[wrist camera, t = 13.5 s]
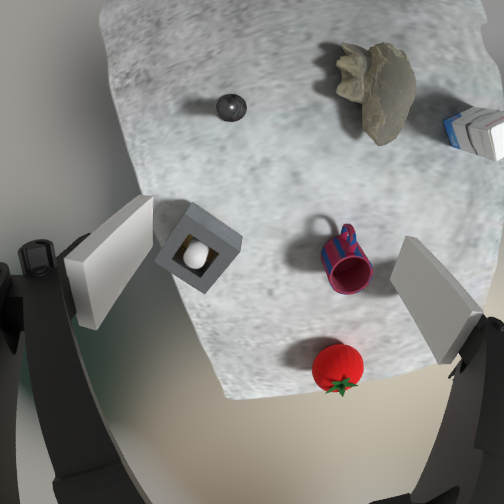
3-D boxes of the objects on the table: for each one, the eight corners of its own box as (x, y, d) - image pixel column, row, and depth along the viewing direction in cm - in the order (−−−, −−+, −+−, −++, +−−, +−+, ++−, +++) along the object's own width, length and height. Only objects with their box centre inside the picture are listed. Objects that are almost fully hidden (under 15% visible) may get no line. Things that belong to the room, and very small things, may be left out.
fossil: (377, 64, 35) (327, 42, 31) (429, 56, 26) (380, 23, 22) (373, 148, 40) (321, 135, 36) (428, 153, 31) (378, 135, 27)
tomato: (362, 356, 58) (373, 392, 49) (318, 373, 60) (324, 409, 51) (351, 326, 54) (363, 364, 45) (302, 345, 56) (307, 384, 47)
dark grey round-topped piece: (219, 93, 36) (212, 89, 30) (248, 96, 36) (246, 93, 30) (216, 120, 38) (208, 121, 32) (244, 123, 38) (241, 125, 32)
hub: (183, 212, 44) (169, 231, 37) (228, 218, 44) (222, 239, 38) (181, 252, 47) (169, 276, 41) (223, 258, 48) (217, 284, 41)
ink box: (451, 148, 37) (496, 164, 27) (441, 120, 35) (487, 129, 25) (482, 131, 35) (527, 144, 24) (474, 105, 33) (520, 112, 22)
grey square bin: (192, 201, 42) (184, 213, 37) (242, 236, 44) (240, 251, 40) (163, 246, 45) (153, 261, 41) (209, 276, 47) (204, 294, 43)
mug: (318, 270, 48) (325, 294, 42) (326, 214, 44) (336, 231, 37) (355, 272, 48) (367, 294, 42) (366, 217, 43) (382, 234, 37)
